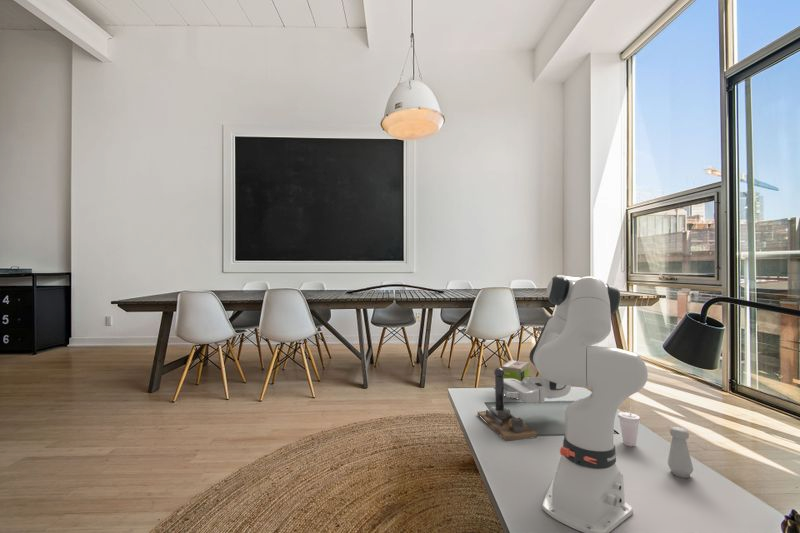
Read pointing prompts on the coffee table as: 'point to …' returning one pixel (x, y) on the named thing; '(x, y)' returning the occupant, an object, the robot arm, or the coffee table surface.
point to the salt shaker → (679, 453)
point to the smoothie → (629, 427)
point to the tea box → (516, 370)
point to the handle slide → (500, 396)
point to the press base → (508, 426)
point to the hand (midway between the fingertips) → (499, 390)
